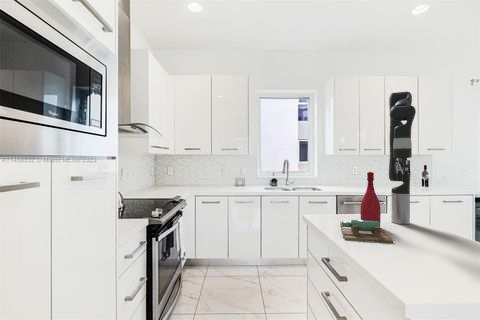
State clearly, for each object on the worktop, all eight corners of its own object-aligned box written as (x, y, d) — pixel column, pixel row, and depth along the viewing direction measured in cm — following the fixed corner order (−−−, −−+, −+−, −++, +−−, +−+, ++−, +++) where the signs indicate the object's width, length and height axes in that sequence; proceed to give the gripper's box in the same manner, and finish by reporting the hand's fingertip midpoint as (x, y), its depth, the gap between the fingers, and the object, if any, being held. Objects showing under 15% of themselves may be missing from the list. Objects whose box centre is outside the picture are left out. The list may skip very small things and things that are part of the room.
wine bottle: (384, 229, 144) (384, 172, 144) (365, 229, 144) (365, 172, 144) (375, 225, 153) (375, 171, 153) (357, 224, 154) (357, 171, 154)
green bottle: (377, 230, 132) (377, 220, 132) (380, 233, 127) (380, 222, 127) (340, 228, 136) (340, 218, 136) (341, 230, 131) (341, 220, 131)
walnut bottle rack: (341, 230, 142) (341, 219, 142) (383, 232, 137) (383, 221, 137) (344, 239, 125) (344, 227, 125) (393, 243, 120) (393, 230, 120)
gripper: (416, 147, 122) (416, 183, 122) (406, 148, 136) (406, 181, 136) (397, 147, 124) (397, 183, 124) (389, 148, 138) (389, 180, 138)
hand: (402, 181), depth 130 cm, fingers open, 8 cm apart
